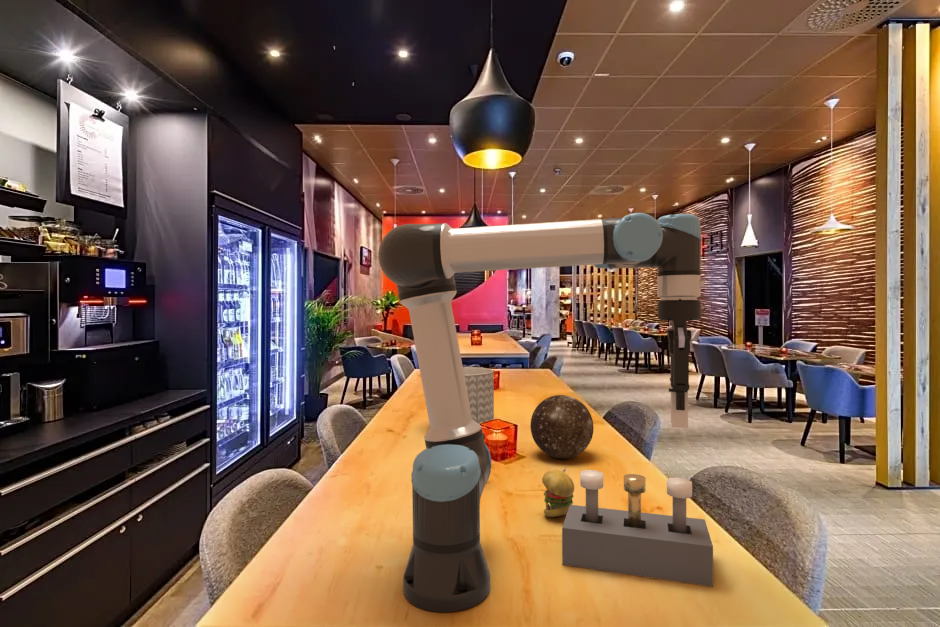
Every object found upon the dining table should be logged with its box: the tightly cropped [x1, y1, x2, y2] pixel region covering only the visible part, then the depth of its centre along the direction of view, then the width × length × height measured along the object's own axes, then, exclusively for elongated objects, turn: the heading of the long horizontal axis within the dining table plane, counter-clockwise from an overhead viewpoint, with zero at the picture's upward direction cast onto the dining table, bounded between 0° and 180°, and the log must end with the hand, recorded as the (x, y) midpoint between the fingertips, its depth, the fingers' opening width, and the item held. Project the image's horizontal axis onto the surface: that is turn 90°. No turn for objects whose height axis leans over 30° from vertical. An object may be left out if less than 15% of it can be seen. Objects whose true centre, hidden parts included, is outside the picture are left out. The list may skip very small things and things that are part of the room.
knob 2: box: [666, 477, 693, 534], centre depth 97 cm, size 4×4×10 cm
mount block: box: [561, 504, 714, 587], centre depth 100 cm, size 12×26×7 cm, turn 72°
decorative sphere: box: [529, 394, 594, 459], centre depth 168 cm, size 20×20×20 cm
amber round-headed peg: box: [623, 473, 647, 528], centre depth 100 cm, size 4×4×10 cm
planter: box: [463, 366, 495, 424], centre depth 203 cm, size 25×25×24 cm
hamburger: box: [541, 467, 575, 518], centre depth 121 cm, size 8×7×12 cm
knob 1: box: [579, 469, 604, 523], centre depth 102 cm, size 4×4×10 cm
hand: (679, 424), depth 97 cm, fingers open, 3 cm apart
